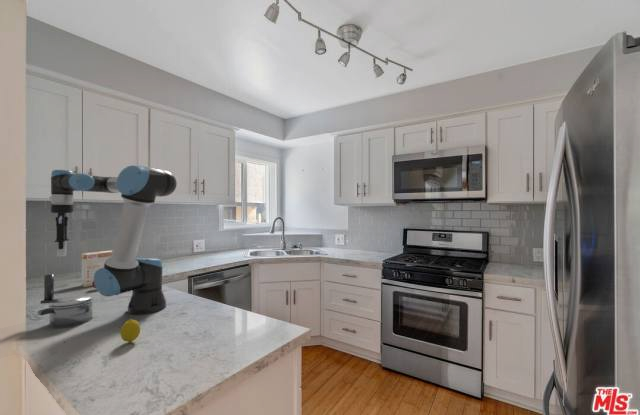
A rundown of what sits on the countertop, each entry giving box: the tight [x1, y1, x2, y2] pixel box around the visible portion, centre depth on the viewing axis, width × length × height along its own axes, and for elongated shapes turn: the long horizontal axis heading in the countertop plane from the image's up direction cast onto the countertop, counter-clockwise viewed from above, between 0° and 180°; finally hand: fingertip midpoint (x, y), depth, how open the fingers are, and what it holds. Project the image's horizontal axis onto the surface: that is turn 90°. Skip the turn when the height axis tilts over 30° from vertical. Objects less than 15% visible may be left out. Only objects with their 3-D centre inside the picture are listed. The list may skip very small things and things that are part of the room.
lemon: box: [120, 318, 141, 344], centre depth 97 cm, size 6×6×8 cm
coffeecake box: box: [81, 250, 113, 288], centre depth 176 cm, size 15×7×20 cm, turn 144°
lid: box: [40, 273, 94, 307], centre depth 115 cm, size 17×13×11 cm
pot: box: [37, 298, 94, 329], centre depth 114 cm, size 16×14×8 cm
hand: (61, 255), depth 130 cm, fingers open, 3 cm apart
